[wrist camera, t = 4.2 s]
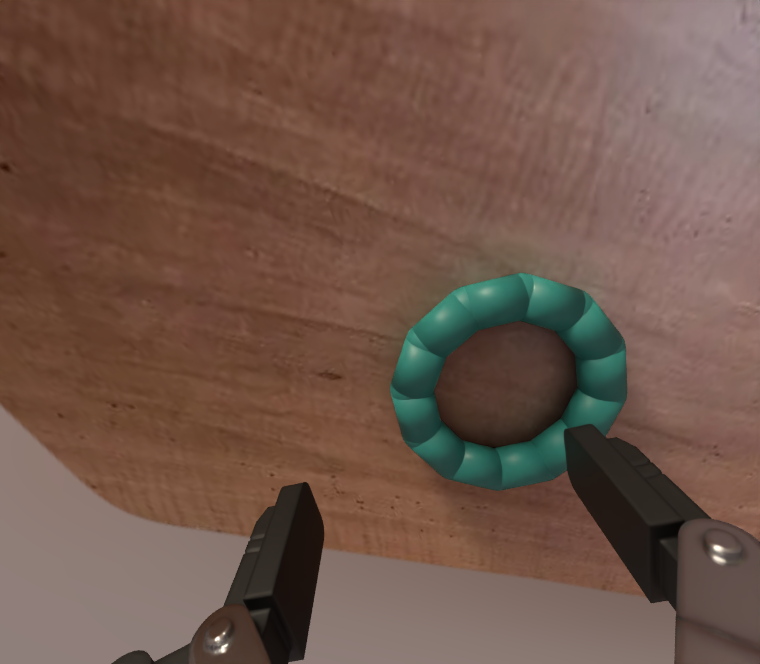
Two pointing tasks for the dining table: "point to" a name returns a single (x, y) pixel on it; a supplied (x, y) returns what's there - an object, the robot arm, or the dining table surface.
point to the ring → (493, 308)
